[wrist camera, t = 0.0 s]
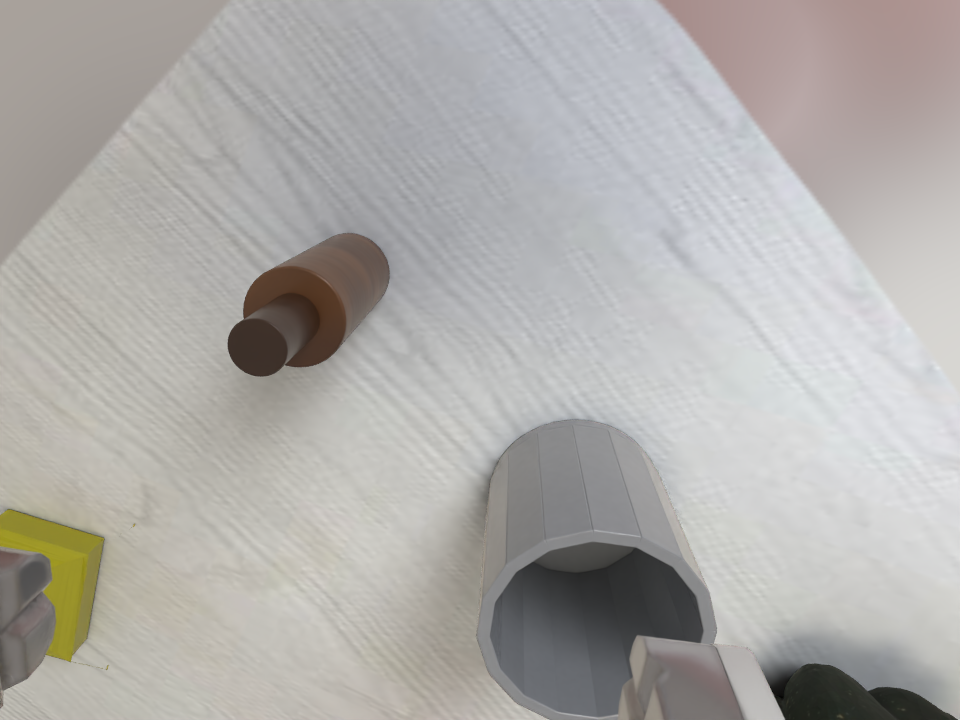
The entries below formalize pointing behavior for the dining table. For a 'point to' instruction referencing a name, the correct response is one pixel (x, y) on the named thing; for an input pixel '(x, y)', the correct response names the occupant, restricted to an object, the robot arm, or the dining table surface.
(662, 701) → the robot arm
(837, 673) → the squash
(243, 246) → the dining table surface
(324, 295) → the brown bottle
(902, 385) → the dining table surface
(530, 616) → the steel cup
